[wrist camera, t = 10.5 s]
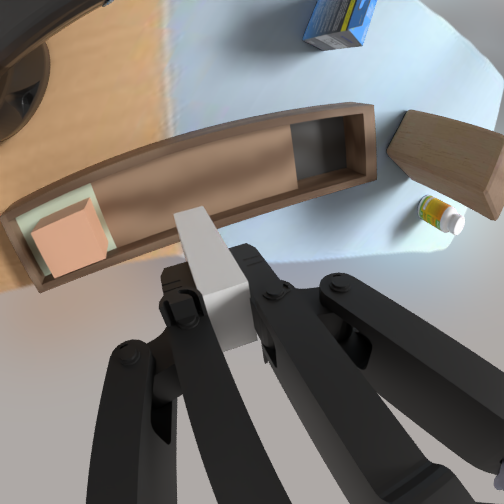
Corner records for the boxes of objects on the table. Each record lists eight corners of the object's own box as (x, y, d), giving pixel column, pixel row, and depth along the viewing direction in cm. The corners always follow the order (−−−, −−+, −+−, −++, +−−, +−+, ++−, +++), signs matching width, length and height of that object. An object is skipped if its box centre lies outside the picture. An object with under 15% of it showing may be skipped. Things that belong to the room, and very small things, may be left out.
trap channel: (13, 202, 28) (-1, 217, 24) (351, 101, 37) (373, 104, 33) (47, 272, 34) (39, 293, 30) (355, 170, 43) (376, 179, 39)
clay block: (40, 218, 28) (30, 233, 25) (89, 196, 29) (84, 209, 26) (61, 260, 31) (54, 278, 28) (108, 241, 32) (105, 258, 29)
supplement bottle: (413, 210, 53) (449, 231, 45) (426, 189, 51) (463, 207, 44) (422, 222, 56) (455, 243, 48) (435, 203, 54) (468, 221, 46)
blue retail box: (324, 52, 33) (387, 46, 23) (300, 40, 31) (360, 26, 21) (341, 6, 29) (403, -8, 19) (319, -7, 28) (378, -28, 17)
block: (410, 180, 49) (496, 225, 32) (382, 152, 44) (483, 195, 27) (431, 138, 46) (519, 172, 30) (406, 106, 41) (508, 133, 24)
